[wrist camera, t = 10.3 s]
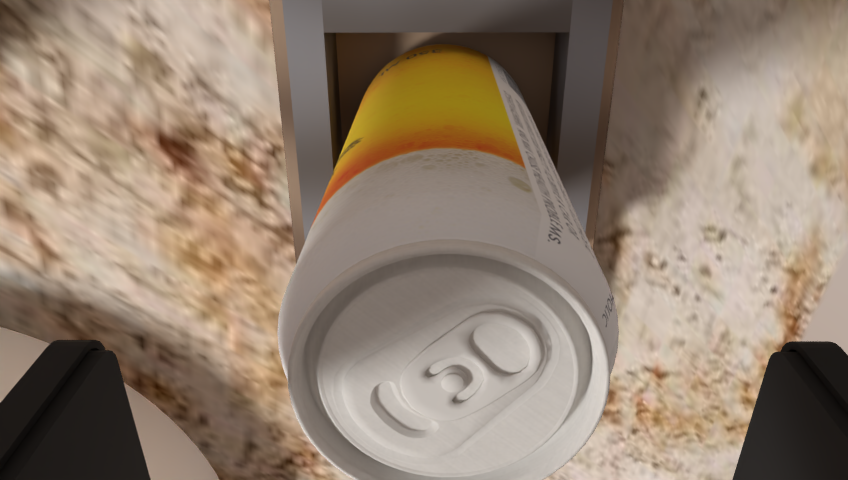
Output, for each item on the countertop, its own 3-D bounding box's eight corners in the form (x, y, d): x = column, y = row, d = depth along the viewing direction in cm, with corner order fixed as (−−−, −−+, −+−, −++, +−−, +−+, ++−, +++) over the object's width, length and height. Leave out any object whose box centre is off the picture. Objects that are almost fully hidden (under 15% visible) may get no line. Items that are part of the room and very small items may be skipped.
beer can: (325, 115, 24) (185, 371, 11) (453, 1, 22) (475, 138, 9) (433, 229, 26) (428, 565, 13) (558, 133, 24) (707, 408, 11)
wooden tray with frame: (261, -187, 21) (225, -207, 18) (634, -190, 21) (675, -210, 17) (311, 329, 30) (293, 385, 27) (573, 331, 30) (591, 388, 26)
